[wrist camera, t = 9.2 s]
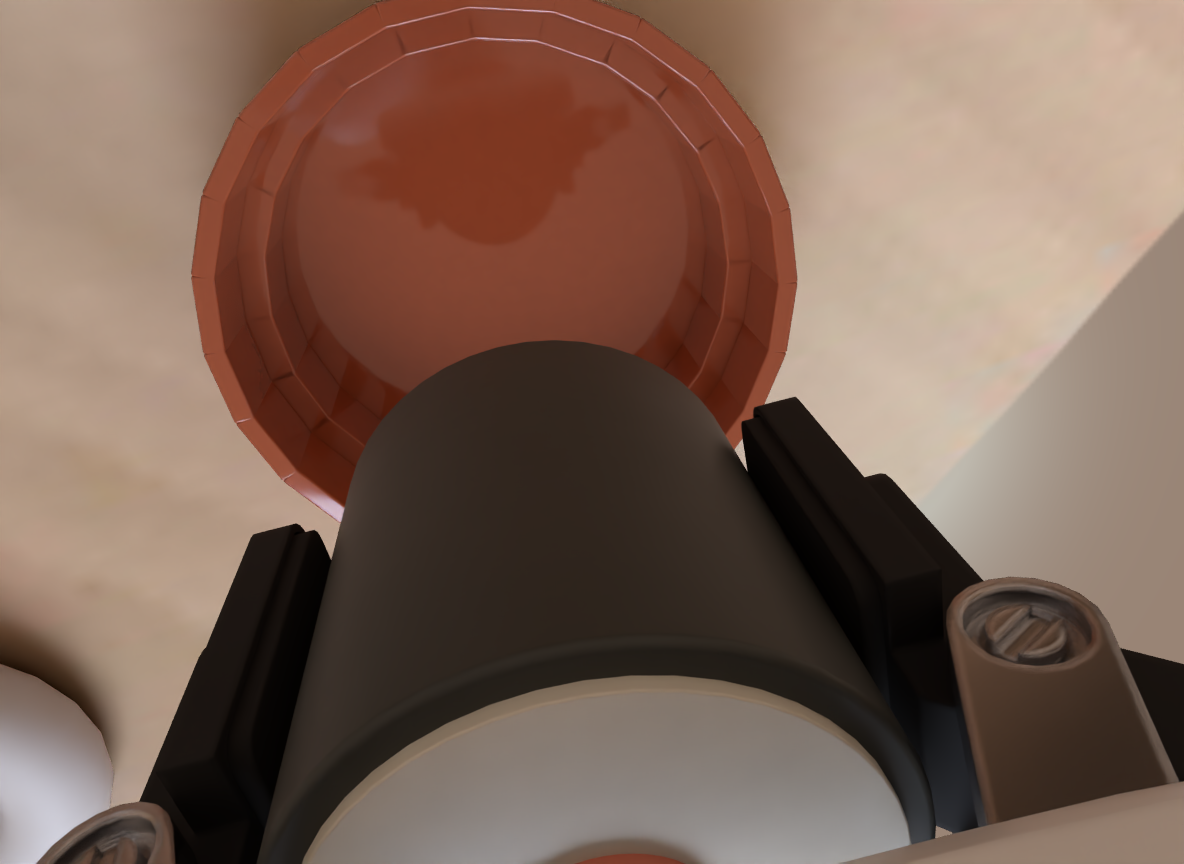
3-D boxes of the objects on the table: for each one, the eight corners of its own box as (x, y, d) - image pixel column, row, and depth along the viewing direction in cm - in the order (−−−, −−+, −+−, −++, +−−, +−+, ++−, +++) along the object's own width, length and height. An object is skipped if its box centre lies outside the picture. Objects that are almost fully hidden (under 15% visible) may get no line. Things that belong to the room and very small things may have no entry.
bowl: (153, 60, 21) (73, 75, 17) (698, -72, 22) (760, -91, 17) (345, 520, 28) (323, 618, 23) (763, 413, 28) (819, 490, 24)
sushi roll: (284, 397, 11) (99, 794, 5) (708, 291, 11) (947, 575, 6) (417, 711, 14) (382, 1198, 8) (760, 622, 14) (962, 1043, 8)
